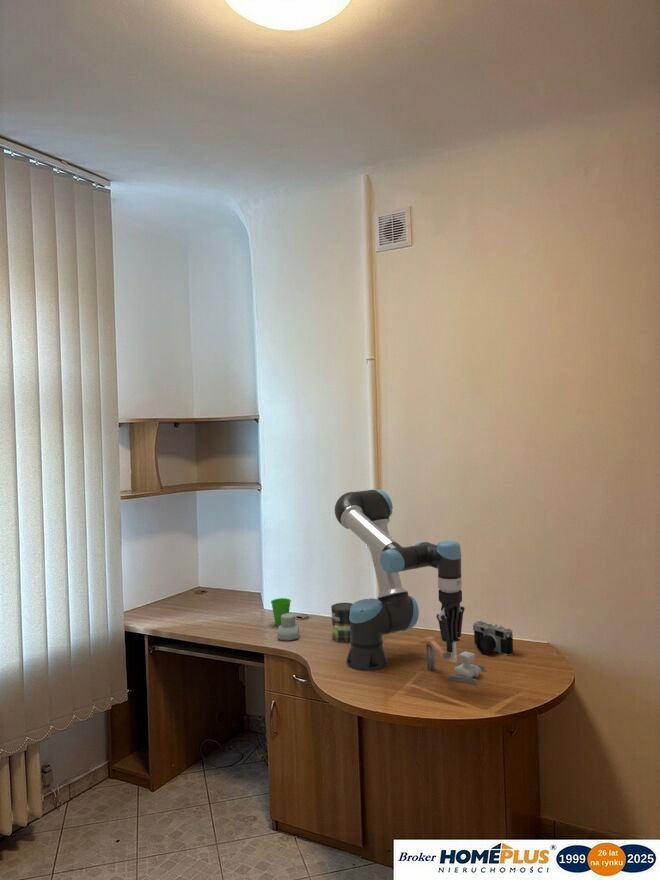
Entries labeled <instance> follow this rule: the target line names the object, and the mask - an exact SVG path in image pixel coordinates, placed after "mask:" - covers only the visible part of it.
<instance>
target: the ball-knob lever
mask: <svg viewBox="0 0 660 880" xmlns="http://www.w3.org/2000/svg"><path fill="white" fill-rule="evenodd" d="M424 643H425V645H427V644H428V645H431V646H432V648H433V649H434V652H436V654H438V656H440V658H441V659H442V660H443V661H444V662H445V661H448V660H450V659H449V658H451V654H450V653H447V651H445V650H444V649H443V648H442V647H441V646H440V645H439V643H438V642H437V641H436V637H435V636H432V635H431V636H430V635H428V636H425V637H424Z"/></svg>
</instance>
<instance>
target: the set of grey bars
mask: <svg viewBox="0 0 660 880" xmlns="http://www.w3.org/2000/svg"><path fill="white" fill-rule="evenodd" d="M426 663H427V664H426V665H427V666H426V667H425V669H427V671H429V672H434V671H435V669H436V667H435V666H436V665H435V664H436V663H435V650H434V649H433V648H432V646H431V645H428V644H426ZM461 664H463V661H459V662H458V666H459V665H461ZM471 664H472V665H475V666H478V667H480V669H481V671H480V672H485V671H486V666H485V665H482V664H481V665H480V664H475V663H471ZM448 681H454V682H459V683H465V684H470V685H477V679H476V678H474V677H473V678H467V677H461V676H457V675H456V674H454V675H453V674H449V675H448Z"/></svg>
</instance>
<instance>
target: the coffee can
mask: <svg viewBox="0 0 660 880" xmlns="http://www.w3.org/2000/svg"><path fill="white" fill-rule="evenodd" d="M352 604H353V603H350V602H337V603H334V604H332V605H331V606H330V608H331V635H332V636H331V637H332V639H331V640H332V641H333V642H337V643H345V644H346V643H351V640H350V620H349V616H350V607H351V606H352Z"/></svg>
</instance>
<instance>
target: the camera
mask: <svg viewBox="0 0 660 880" xmlns="http://www.w3.org/2000/svg"><path fill="white" fill-rule="evenodd" d="M472 630H473V637H474V639H473V641H474V644H475V645H476V648H477V650H478V651H479V652H480V653H481V654H488V653H490V652H494V651H495V652H494V653H497V652H498V654H501V653H503V654H502V655H504V654H512V653H513V654H514V638H513V636H514V635H513V630H512V628H510V627H506V626H505V627H504V626H502V625H498V624H493V622H489V621H487V620H486V621H483V620H482V619H481V618H476V619H475V621H474V622H473V624H472ZM475 645H474V646H475ZM513 654H512V655H513Z"/></svg>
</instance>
